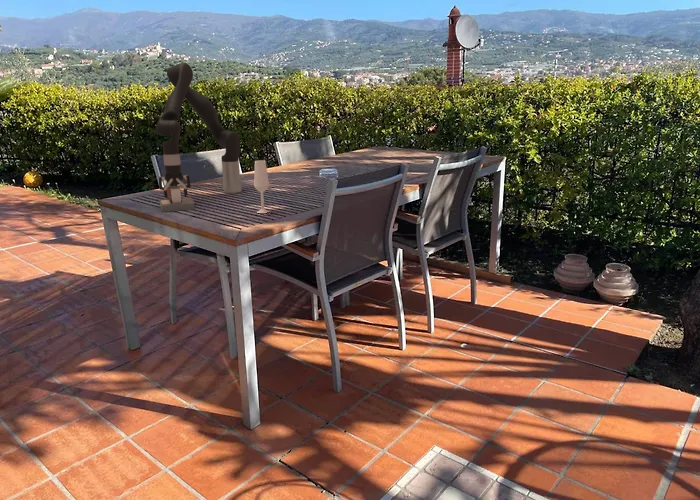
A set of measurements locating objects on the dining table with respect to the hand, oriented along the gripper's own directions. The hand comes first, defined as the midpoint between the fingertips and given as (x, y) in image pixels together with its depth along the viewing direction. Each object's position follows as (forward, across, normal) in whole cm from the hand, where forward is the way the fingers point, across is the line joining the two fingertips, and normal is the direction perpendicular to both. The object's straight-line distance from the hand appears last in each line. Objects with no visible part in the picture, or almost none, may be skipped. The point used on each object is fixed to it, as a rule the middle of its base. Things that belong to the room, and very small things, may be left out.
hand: (176, 197), depth 246 cm
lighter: (+5, 0, -18) cm, 19 cm away
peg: (+5, 0, 0) cm, 5 cm away
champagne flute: (+5, -36, +28) cm, 46 cm away
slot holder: (+5, 0, 0) cm, 5 cm away
